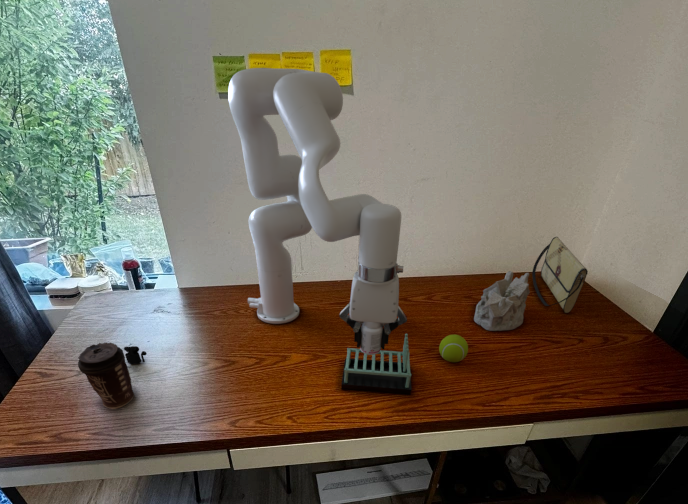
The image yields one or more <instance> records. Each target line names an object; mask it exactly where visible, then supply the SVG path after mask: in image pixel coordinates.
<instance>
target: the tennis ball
mask: <svg viewBox="0 0 688 504" xmlns="http://www.w3.org/2000/svg"><path fill="white" fill-rule="evenodd" d="M438 350H439V354H440V356H441V358H442V359H444V360H445V361H447V362H449V363H459V362H461V361H463V360H464V359H465V358H466V357H467V355H468V353H469V344H468V341H466V339H465V338H464V337H462V336H461V335H460V334H449V335H446V336H445V337H443V338H442V339H441V341H440V343H439V346H438Z"/></svg>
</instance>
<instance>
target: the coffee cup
mask: <svg viewBox="0 0 688 504" xmlns="http://www.w3.org/2000/svg"><path fill="white" fill-rule="evenodd" d="M126 362H127V361H126V356H125V352H124V349H122V348H121V347H119V346H118V345H117V344H116V343H114V342H101V343H100V342H99V343H97V344H92V345H90V346H87V347H86V348H85V349H84V350H83V351H81V352H80V354H79V355H78V362H77V366H78V369H79V371H80V372H81V373H82V374H83V375H85V377H86V380H87V381H88V383H89V385H90V386H91V387H92V389H93V391H94V392H95V393H96V394H97V395H98V396H99V397H100V399H101V403H102V405H103V407H105V408H107V409H110V410H117V409H120V408H123V407H125V406H126V405H127V404H129V403H130V402H132V400H133V399H134V397H135V392H134V390H133V385H132V377H131V375H130V371H129V367H128V365H127V363H126Z"/></svg>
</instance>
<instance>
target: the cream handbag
mask: <svg viewBox="0 0 688 504" xmlns="http://www.w3.org/2000/svg"><path fill="white" fill-rule="evenodd" d="M544 254H545V257H544V261H543V264H542V266H541V270H540V277H541V278H542V279H543V281H544V282H545V284H546V286H547V287H548V289H549V290H550V292H551V293H552V295H553V296H554V298H555V299H556V301H557V302H555V303H553V304H552V303H551V304H549V303H547V302H546V301H545V299H544V297H543V296H542V294H541V292H540V289H539V288H538V284H537V279H536V278H537V277H536V270H537V267H538V265H539V262H540V261H541V259H542V257H543V256H544ZM588 272H589V271H588V269H587V268H586V267H585V266H584V265H583V263H581V262H580V260H579V259H578V258H577V257H576V256H575V255H574V253H573V252H572V251H571V250H570V249H569V248H568V247H567V245H565V243H564V242H563V241H562V240H561V239H560V238H559V237H558V236H554V237H553V238H551V240H550V242H549V244H547V246H545V247H544V248H543V250H542V251H541V252H540V253H539V255H538V257H537V258H536V260H535V262H534V265H533V268H532V272H531V273H532V274H531V277H532V284H533V287H534V290H535V293H536V295H537V297H538V299H539V300H540V301H541V303H542V304H543V305H544V306H546V307H549V306H550V307H551V306H554V305H558V304H559V306H560V307H561V308H562V311H563V312H564V314H569V313H570V312H571V311H572V310H573V308H574V307H575V304H576V302H577V300H578V298H579V295H580V292H581V290H582V288H583V285H584V283H585V282H586V280H587V279H586V278H587V275H588V274H589V273H588Z"/></svg>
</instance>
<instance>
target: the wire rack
mask: <svg viewBox="0 0 688 504" xmlns="http://www.w3.org/2000/svg"><path fill="white" fill-rule="evenodd" d="M408 336H409V335H408V333H405V334H404V339H403V347H402V351H395V350H383V349H381V351H380V352H379V353H377V354H375V355H371V356H372V357H371V359H368V354H365V353H363V352H362V351H361V349H360V348H353V347H347V348H346V357H345V358H344V363H343V370H342V377H341V385H340V387H341V388H340V389H341V390H342V391H354V392H355V391H356V392H366V393H379V394H391V395H402V396H403V395H404V396H411V395H412V390H413V389H412V373H411V361H410V355H411V354H410V349H409V347H410V345H409V337H408ZM352 353H355V355H354V358H351V357H352ZM360 353H362V354H363V359H361V358H359V356H360V355H359V354H360ZM376 355H380V360H377V359H376ZM385 355H386V356H388V360H385ZM393 356H397V361H393Z"/></svg>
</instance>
